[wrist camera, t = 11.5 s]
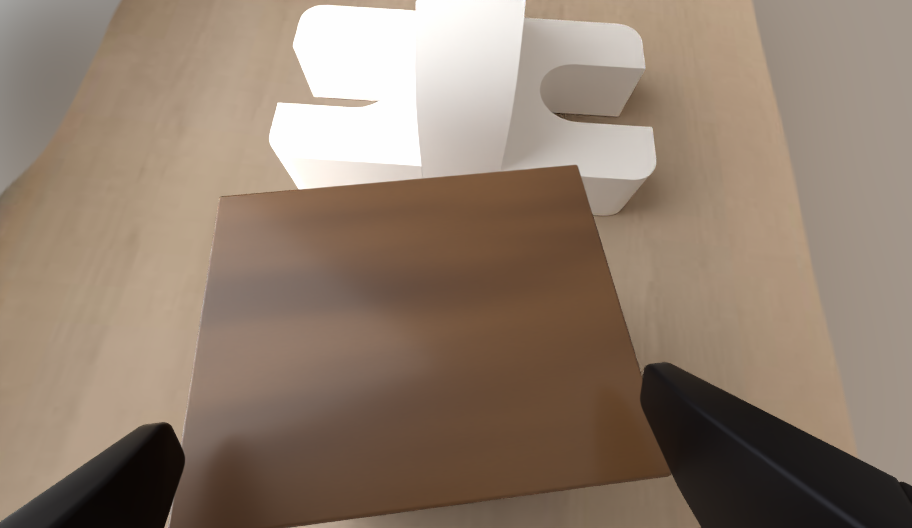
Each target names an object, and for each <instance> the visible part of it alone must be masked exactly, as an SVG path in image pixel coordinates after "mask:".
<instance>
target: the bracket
mask: <svg viewBox="0 0 912 528" xmlns="http://www.w3.org/2000/svg"><path fill="white" fill-rule="evenodd" d="M525 2H526V0H416V11H412V10H396V9H380V8H365V7H349V6H334V5H319V6H315V7H312V8H310V9H308V10H307V11H305V12H304V14H303V15H302V16H301V18H300V21H299V24H298V28H297V32H296V36H295V40H294V43H293V48H294V50H295V52H296V55H297V57H298V60H299V62H300V64H301V67H302V69H303V72H304V74H305V76H306V79H307V81H308V84H309V86H310V88H311V91H312V93H313V96H314V97H325V98H340V99H355V100H371V101H378V102H376V103H374V104H372V105H369V106H365V107H353V108H352V107H337V106H322V105H306V104H291V103H278V104H277V108H276V112H275V116H274V120H273V123H272V127H271V131H270V136H269V141H270V145H271V146H272V148H273V150H274V151H275V153H276V154H277V156H278V157H279V159H280V160H281V162H282V164H283V165H284V167H285V168H286V170H287V171H288V173H289V174H290V176H291V177H292V179H293V181H294V182H295V184H296V185H297V187H298V188H299V189H310V188H321V187H333V186H344V185H355V184H366V183H377V182H388V181H399V180H410V179H422V178H433V177H444V176H455V175H466V174H477V173H488V172H500V171H511V170H522V169H533V168H544V167H555V166H566V165H577V166H578V168H579V171H580V175H581V178H582V181H583V184H584V188H585V191H586V194H587V198H588V201H589V204H590V207H591V211H592V214H593V215H601V216H609V215H613V214H616V213H618V212H619V211H620V210H621V209H622V208H623V207H624V205H625V204H626V203H627V202H628V201H629V199H630V198H631V197H632V196H633V195H634V193H635V192H636V191H637V190H638V189H639V187H640V186H641V185H642V184H643V183H644V181H645V180H646V179H647V178H648V177H649V175H650V174H651V173H652V172H653V171H654V169H655V166H656V153H655V144H654V136H653V127H643V126H628V125H613V124H597V123H582V122H573V121H568V120H565V119H563V118H560V117H558V116H556V115H555V114H554V113H570V114H585V115H601V116H616V117H618V116H619V115H620V113H621V111H622V109H623V108H624V106H625V104H626V102H627V101H628V99H629V97H630V95H631V93H632V92H633V90H634V88H635V86H636V85H637V83H638V81H639V79H640V78H641V76H642V74H643V72H644V71H645V60H644V52H643V44H642V39H641V37H640V35H639V34H638V33H637V32H636V31H635V30H634V29H632V28H631V27H629V26H626V25H622V24H614V23H598V22H583V21H567V20H552V19H536V18H524V12H525Z"/></svg>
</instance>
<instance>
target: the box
mask: <svg viewBox="0 0 912 528" xmlns="http://www.w3.org/2000/svg"><path fill="white" fill-rule="evenodd" d="M642 380H643V378H642V375H641V372H640V368H639V365H638V362H637V359H636V355H635V352H634V349H633V345H632V342H631V339H630V336H629V332H628V329H627V326H626V322H625V319H624V316H623V313H622V309H621V306H620V303H619V299H618V296H617V293H616V290H615V286H614V283H613V280H612V276H611V273H610V270H609V267H608V263H607V260H606V257H605V253H604V250H603V247H602V244H601V240H600V237H599V234H598V230H597V227H596V224H595V221H594V217H593V214H592V211H591V207H590V204H589V201H588V198H587V194H586V191H585V188H584V184H583V181H582V178H581V175H580V171H579V168H578V166H577V165H566V166H555V167H544V168H533V169H522V170H511V171H500V172H488V173H477V174H466V175H455V176H444V177H433V178H422V179H410V180H399V181H388V182H377V183H366V184H355V185H344V186H333V187H321V188H310V189H299V190H288V191H277V192H266V193H255V194H243V195H232V196H221V197H220V198H219V202H218V209H217V215H216V222H215V228H214V235H213V241H212V247H211V254H210V260H209V267H208V273H207V280H206V286H205V293H204V299H203V305H202V312H201V318H200V325H199V331H198V338H197V344H196V351H195V357H194V363H193V370H192V376H191V383H190V389H189V396H188V402H187V409H186V415H185V421H184V428H183V434H182V441H181V447H182V449H183V451H184V454H185V466H184V470H183V473H182V476H181V479H180V482H179V485H178V488H177V491H176V494H175V497H174V500H173V503H172V506H171V512H170V518H169V525H168V528H289V527H297V526H304V525H312V524H319V523H326V522H334V521H341V520H349V519H356V518H364V517H371V516H378V515H386V514H393V513H401V512H408V511H415V510H423V509H430V508H438V507H445V506H453V505H460V504H467V503H475V502H482V501H490V500H497V499H504V498H512V497H519V496H527V495H534V494H541V493H549V492H556V491H564V490H571V489H579V488H586V487H593V486H601V485H608V484H616V483H623V482H630V481H638V480H645V479H653V478H660V477H668V476H670V475H671V471H670V469H669V467H668V465H667V463H666V460H665V458H664V456H663V454H662V452H661V449H660V447H659V445H658V443H657V441H656V438H655V436H654V434H653V432H652V430H651V427H650V425H649V423H648V421H647V419H646V416H645V414H644V412H643V410H642V407H641V403H640V393H641V386H642Z"/></svg>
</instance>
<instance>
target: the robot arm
mask: <svg viewBox="0 0 912 528" xmlns="http://www.w3.org/2000/svg"><path fill="white" fill-rule="evenodd" d="M640 403H641V407H642V410H643V412H644V414H645V416H646V419H647V421H648V423H649V425H650V427H651V430H652V432H653V434H654V436H655V438H656V441H657V443H658V445H659V447H660V449H661V452H662V454H663V456H664V458H665V460H666V463H667V465H668V467H669V469H670V471H671V473H672V475H673V478H674V480H675V482H676V484H677V486H678V487H679V489H680V491H681V493H682V495H683V496H684V498H685V500H686V502H687V503H688V505H689V507H690V509H691V510H692V512H693V514H694V516H695V517H696V519H697V521H698V522H699V524H700V526H701V528H912V486H911V485H909V484H907V483H904V482H898V480H897V479H896V478H895V477H893V476H891V475H889V474H887V473H885V472H883V471H881V470H879V469H877V468H875V467H873V466H871V465H869V464H867V463H865V462H863V461H861V460H859V459H857V458H855V457H853V456H851V455H850V454H848V453H846V452H844V451H842V450H840V449H838V448H836V447H834V446H832V445H830V444H828V443H826V442H824V441H822V440H820V439H818V438H816V437H814V436H812V435H810V434H808V433H806V432H804V431H802V430H800V429H798V428H796V427H794V426H793V425H791V424H789V423H787V422H785V421H783V420H781V419H779V418H777V417H775V416H773V415H771V414H769V413H767V412H765V411H763V410H761V409H759V408H757V407H755V406H753V405H751V404H749V403H747V402H745V401H743V400H741V399H739V398H737V397H736V396H734V395H732V394H730V393H728V392H726V391H724V390H722V389H720V388H718V387H716V386H714V385H712V384H710V383H708V382H706V381H704V380H702V379H700V378H698V377H696V376H694V375H692V374H690V373H688V372H686V371H684V370H682V369H680V368H679V367H677V366H675V365H673V364H670V363H667V362H662V363H654V364H649V365H647V366H646V367H645V369H644V373H643V380H642V386H641V393H640ZM184 466H185V454H184V451H183V449H182V447H181V445H180V443H179V441H178V438H177V436H176V434H175V432H174V430H173V428H172V426H171V425H170V424H168V423H165V422H161V423H153V424H146V425H142V426H140V427H138V428H137V429H135V430H134V431H132V432H131V433H129V434H128V435H126V436H125V437H124V438H122V439H121V440H119V441H118V442H116V443H115V444H113V445H112V446H110V447H109V448H107V449H106V450H105V451H103V452H102V453H100V454H99V455H97V456H96V457H94V458H93V459H91V460H90V461H88V462H87V463H86V464H84V465H83V466H81V467H80V468H78V469H77V470H75V471H74V472H72V473H71V474H69V475H68V476H67V477H65V478H64V479H62V480H61V481H59V482H58V483H56V484H55V485H53V486H52V487H50V488H49V489H48V490H46V491H45V492H43V493H42V494H40V495H39V496H37V497H36V498H34V499H33V500H31V501H30V502H29V503H27V504H26V505H24V506H23V507H21V508H20V509H18V510H17V511H15V512H14V513H12V514H11V515H9V516H8V517H7V518H5V519H4V520H2V521H1V522H0V528H164V526H165V523H166V520H167V517H168V514H169V511H170V509H171V506H172V503H173V500H174V497H175V494H176V491H177V488H178V485H179V482H180V479H181V476H182V473H183V470H184Z"/></svg>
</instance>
